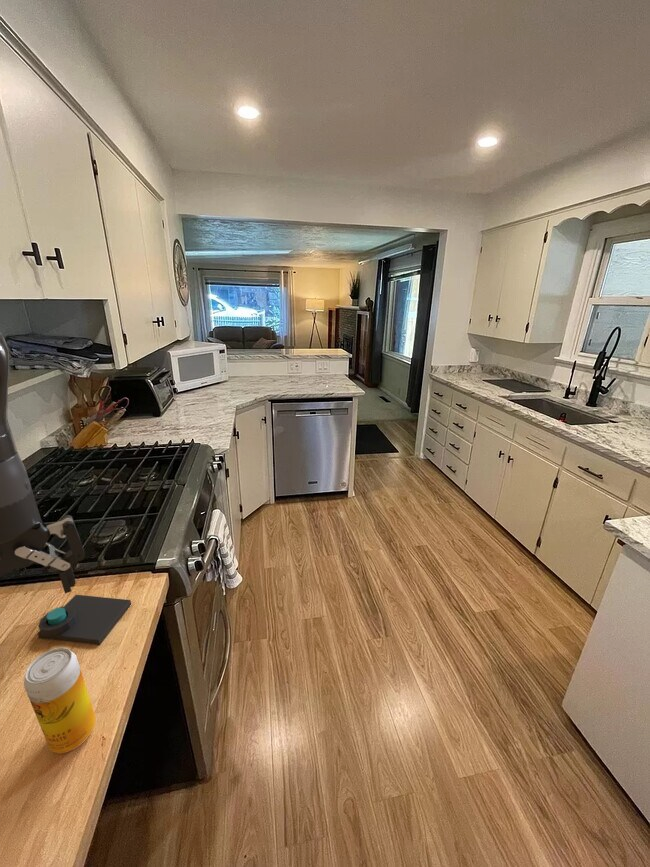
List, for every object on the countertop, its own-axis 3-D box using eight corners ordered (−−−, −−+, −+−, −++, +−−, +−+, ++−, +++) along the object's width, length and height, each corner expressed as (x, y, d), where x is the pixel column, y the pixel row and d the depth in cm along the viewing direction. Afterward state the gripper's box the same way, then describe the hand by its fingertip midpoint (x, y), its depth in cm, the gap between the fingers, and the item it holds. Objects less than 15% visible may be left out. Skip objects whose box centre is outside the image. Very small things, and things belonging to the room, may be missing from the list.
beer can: (39, 750, 53) (9, 680, 48) (75, 708, 59) (52, 641, 53) (72, 762, 52) (45, 691, 47) (105, 717, 57) (85, 650, 52)
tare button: (44, 624, 71) (42, 618, 70) (56, 612, 73) (55, 606, 73) (58, 626, 70) (56, 620, 70) (70, 613, 73) (68, 608, 73)
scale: (35, 640, 70) (30, 628, 69) (75, 599, 80) (72, 588, 79) (98, 647, 69) (95, 635, 68) (131, 604, 79) (129, 594, 78)
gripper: (62, 467, 48) (88, 565, 53) (-95, 501, 39) (-45, 613, 45) (67, 489, 42) (96, 596, 48) (-114, 534, 34) (-54, 657, 39)
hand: (28, 604), depth 46 cm, fingers open, 8 cm apart
